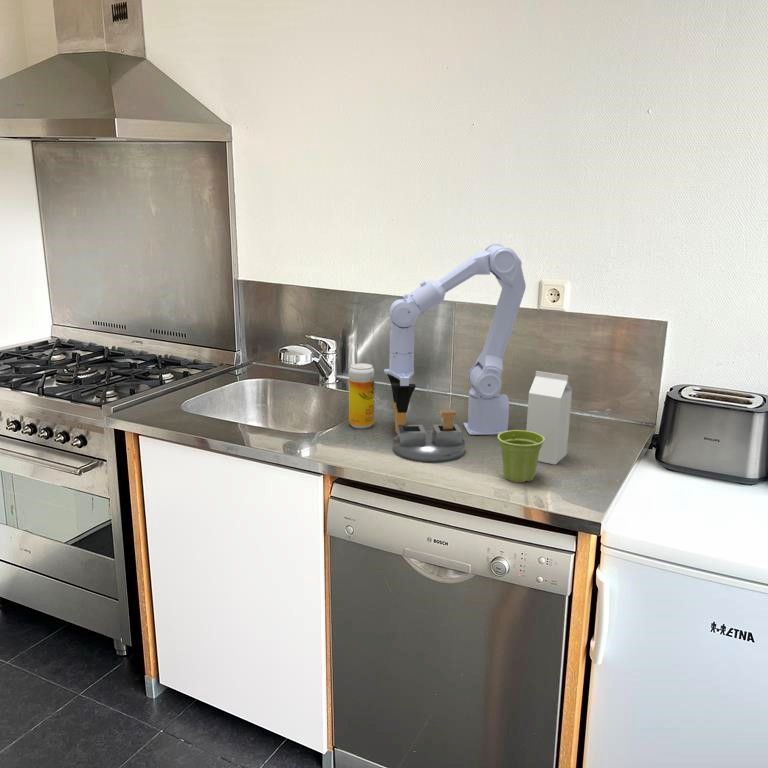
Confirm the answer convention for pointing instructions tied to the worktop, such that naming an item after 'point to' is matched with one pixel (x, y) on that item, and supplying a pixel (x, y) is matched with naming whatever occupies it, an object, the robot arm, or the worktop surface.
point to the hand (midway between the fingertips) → (400, 407)
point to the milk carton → (550, 414)
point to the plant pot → (520, 454)
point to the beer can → (361, 395)
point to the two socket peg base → (430, 441)
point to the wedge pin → (399, 418)
